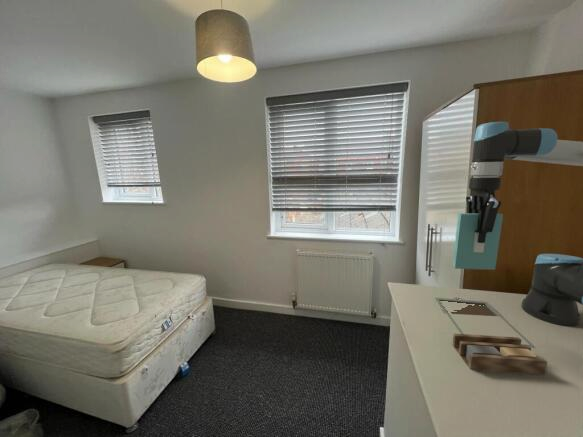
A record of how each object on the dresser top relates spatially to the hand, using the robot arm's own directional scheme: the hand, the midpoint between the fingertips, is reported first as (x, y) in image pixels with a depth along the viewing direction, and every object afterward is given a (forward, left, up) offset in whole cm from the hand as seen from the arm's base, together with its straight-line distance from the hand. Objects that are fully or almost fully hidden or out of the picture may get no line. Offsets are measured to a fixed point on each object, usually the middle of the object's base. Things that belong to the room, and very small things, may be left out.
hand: (475, 250), depth 79 cm
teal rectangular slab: (0, 0, -6) cm, 6 cm away
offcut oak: (-4, +16, -27) cm, 32 cm away
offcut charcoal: (+4, +16, -27) cm, 32 cm away
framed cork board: (-7, -7, -29) cm, 31 cm away
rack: (0, +15, -28) cm, 32 cm away
